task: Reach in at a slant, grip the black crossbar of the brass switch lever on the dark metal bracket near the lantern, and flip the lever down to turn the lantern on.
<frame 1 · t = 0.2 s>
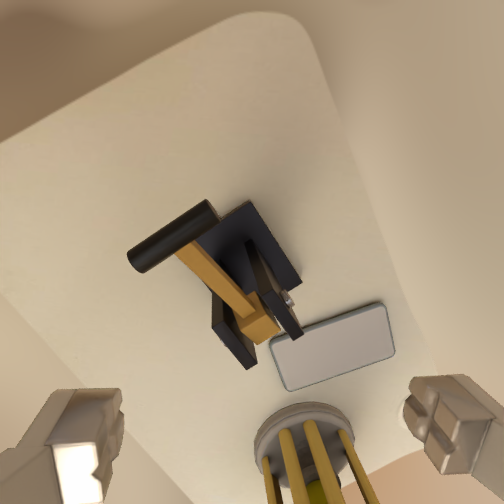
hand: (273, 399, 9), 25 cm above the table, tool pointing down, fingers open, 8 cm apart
lever: (225, 287, 20), point 14 cm above the table, hinge at 25.0°
lantern: (302, 440, 44), on the table
smartphone: (331, 345, 39), on the table
switch bracket: (242, 263, 34), on the table
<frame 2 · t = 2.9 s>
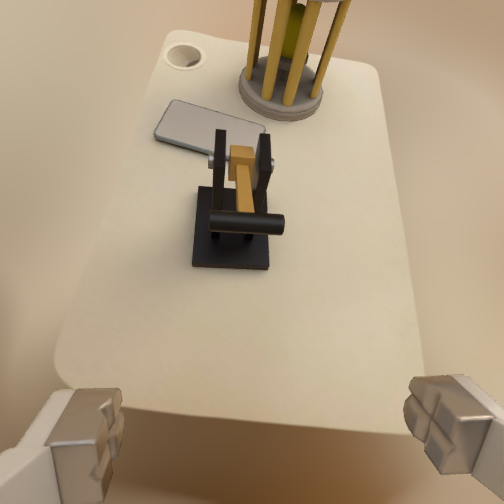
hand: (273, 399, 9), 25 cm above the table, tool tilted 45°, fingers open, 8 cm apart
lever: (243, 186, 25), point 14 cm above the table, hinge at 25.0°
lantern: (279, 92, 53), on the table
smartphone: (211, 135, 46), on the table
switch bracket: (231, 228, 39), on the table
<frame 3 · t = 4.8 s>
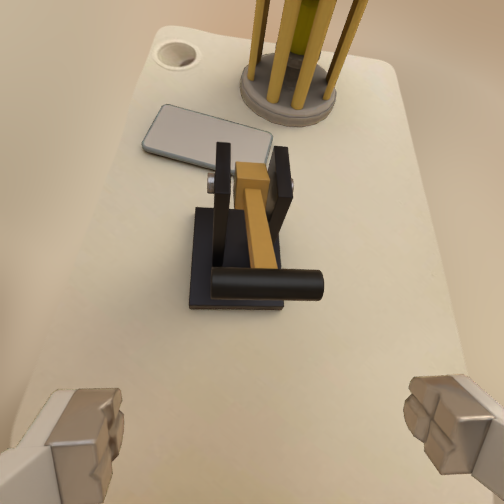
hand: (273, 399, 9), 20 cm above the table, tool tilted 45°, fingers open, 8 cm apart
lever: (256, 221, 18), point 14 cm above the table, hinge at 25.0°
lantern: (287, 94, 46), on the table
smartphone: (210, 145, 39), on the table
switch bracket: (236, 258, 32), on the table
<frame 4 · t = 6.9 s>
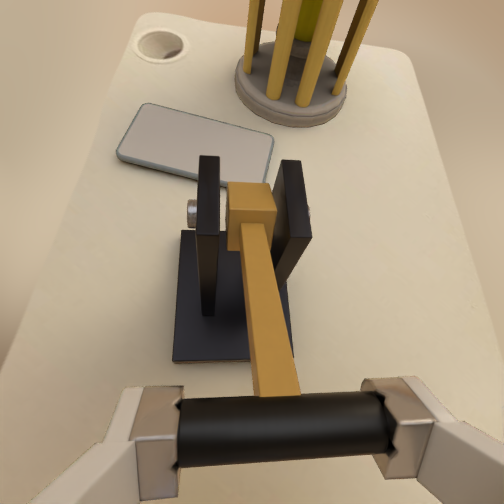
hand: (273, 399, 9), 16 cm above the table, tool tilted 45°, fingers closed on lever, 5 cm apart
lever: (258, 279, 12), point 14 cm above the table, hinge at 25.0°, touching gripper
lantern: (289, 89, 40), on the table
smartphone: (199, 151, 33), on the table
switch bracket: (232, 293, 26), on the table
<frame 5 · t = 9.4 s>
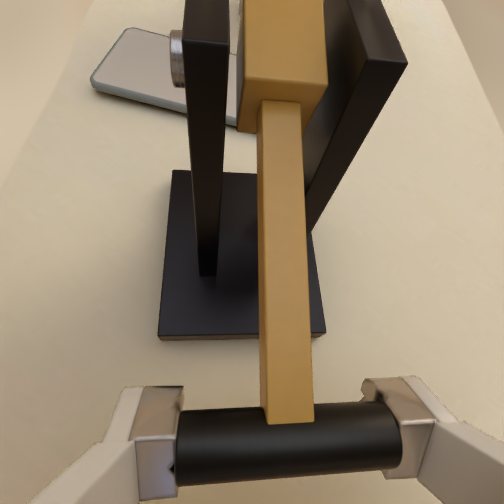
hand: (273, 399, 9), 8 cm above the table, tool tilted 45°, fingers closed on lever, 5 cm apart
lever: (280, 220, 8), point 11 cm above the table, hinge at -15.9°, touching gripper
smartphone: (197, 86, 26), on the table
switch bracket: (240, 251, 20), on the table
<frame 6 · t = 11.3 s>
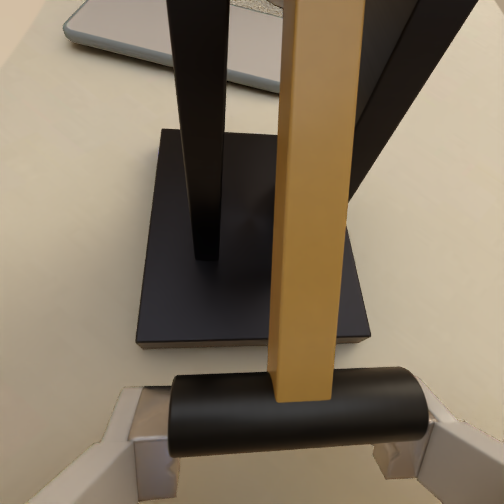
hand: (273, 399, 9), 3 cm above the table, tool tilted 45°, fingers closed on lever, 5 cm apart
lever: (312, 137, 5), point 9 cm above the table, hinge at -38.2°, touching gripper
smartphone: (194, 41, 22), on the table
switch bracket: (249, 231, 15), on the table
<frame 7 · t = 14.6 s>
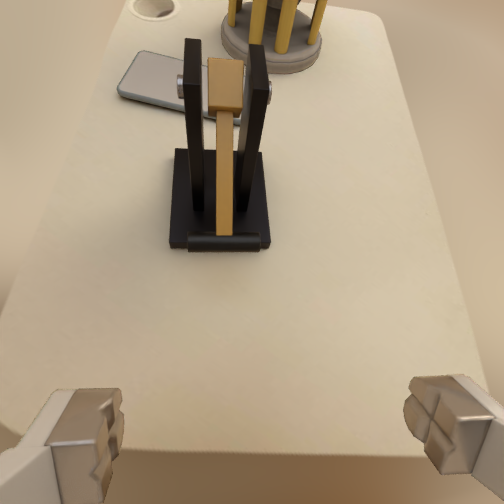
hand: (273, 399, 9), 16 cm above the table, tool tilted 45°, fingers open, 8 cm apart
lever: (224, 163, 21), point 9 cm above the table, hinge at -35.7°
lantern: (270, 43, 44), on the table
smartphone: (190, 92, 37), on the table
switch bracket: (219, 199, 31), on the table
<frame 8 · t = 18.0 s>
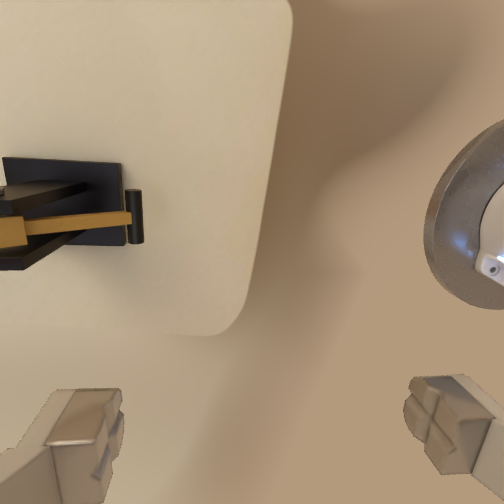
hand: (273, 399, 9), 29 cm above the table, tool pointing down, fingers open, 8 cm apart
lever: (71, 222, 25), point 9 cm above the table, hinge at -35.7°
switch bracket: (71, 202, 34), on the table
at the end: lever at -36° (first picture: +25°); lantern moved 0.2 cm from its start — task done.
